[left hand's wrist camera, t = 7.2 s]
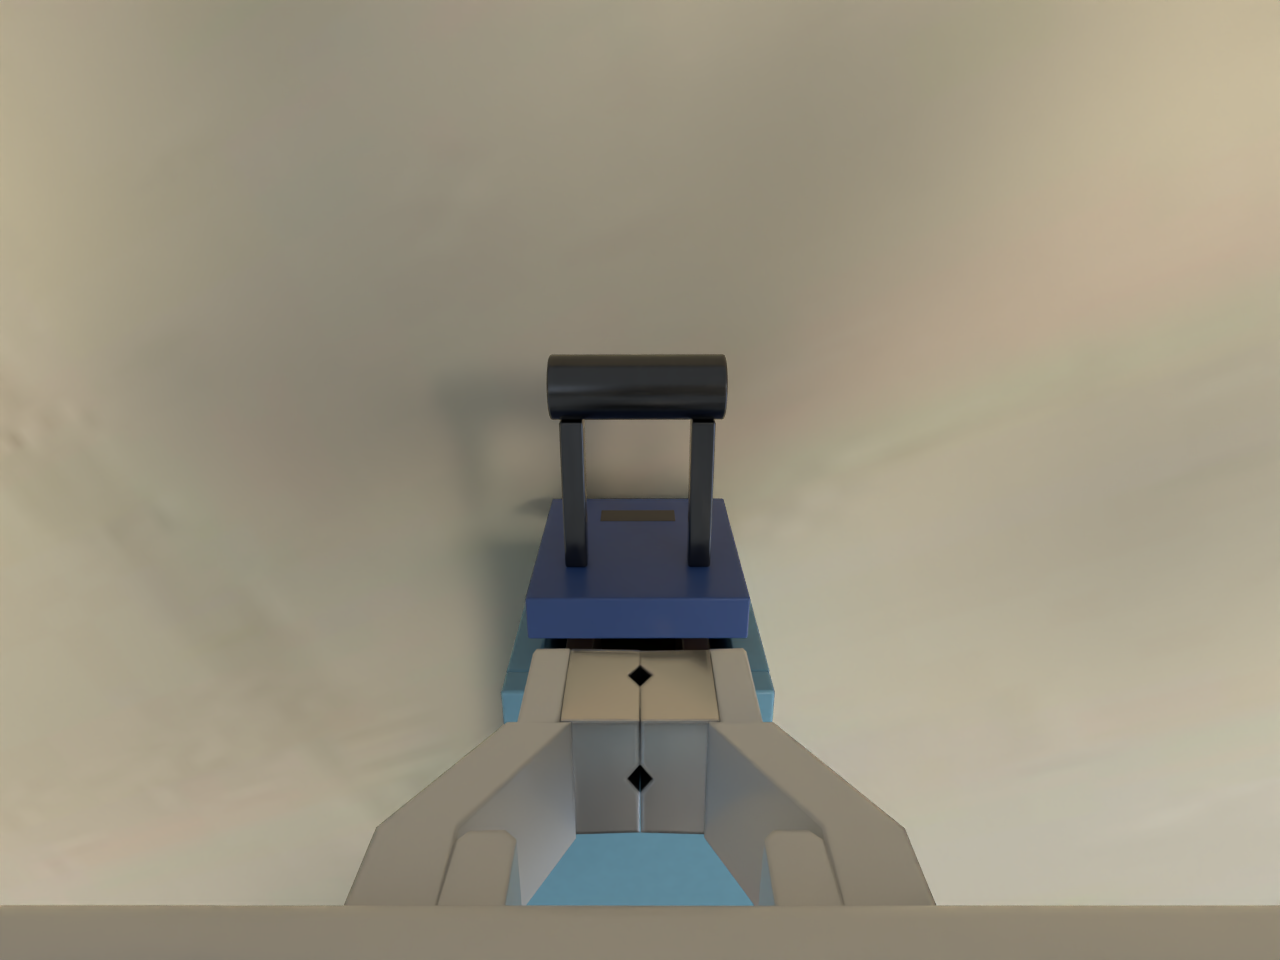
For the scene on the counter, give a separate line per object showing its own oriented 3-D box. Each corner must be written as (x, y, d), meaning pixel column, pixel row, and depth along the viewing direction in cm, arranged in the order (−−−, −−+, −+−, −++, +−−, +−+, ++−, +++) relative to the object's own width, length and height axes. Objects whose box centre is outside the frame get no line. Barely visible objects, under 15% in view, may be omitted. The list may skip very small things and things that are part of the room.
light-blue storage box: (540, 543, 26) (499, 691, 18) (735, 542, 26) (775, 691, 18) (563, 951, 34) (542, 1176, 26) (714, 950, 34) (736, 1176, 26)
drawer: (543, 323, 22) (509, 373, 16) (730, 323, 22) (764, 372, 16) (573, 918, 32) (557, 1088, 26) (705, 918, 32) (720, 1087, 26)
